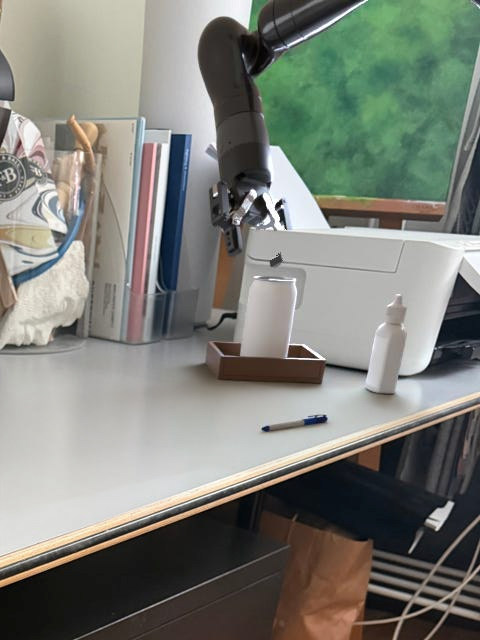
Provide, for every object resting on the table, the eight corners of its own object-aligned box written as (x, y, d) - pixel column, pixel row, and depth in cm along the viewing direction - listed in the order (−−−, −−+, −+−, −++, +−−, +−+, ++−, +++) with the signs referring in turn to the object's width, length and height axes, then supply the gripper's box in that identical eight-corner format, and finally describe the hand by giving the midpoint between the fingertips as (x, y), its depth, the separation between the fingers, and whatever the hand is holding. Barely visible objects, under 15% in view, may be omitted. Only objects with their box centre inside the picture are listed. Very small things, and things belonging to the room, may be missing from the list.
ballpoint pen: (322, 420, 109) (323, 412, 108) (328, 422, 108) (329, 414, 108) (259, 431, 103) (261, 422, 103) (266, 433, 103) (267, 424, 102)
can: (288, 366, 135) (302, 277, 129) (280, 374, 129) (295, 282, 124) (243, 361, 137) (255, 274, 131) (234, 369, 132) (246, 278, 126)
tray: (301, 366, 138) (304, 344, 137) (322, 383, 128) (326, 360, 126) (205, 362, 139) (207, 341, 137) (217, 379, 128) (220, 356, 127)
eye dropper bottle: (357, 391, 124) (376, 295, 118) (367, 384, 128) (386, 291, 122) (391, 395, 122) (412, 298, 116) (401, 388, 126) (421, 294, 120)
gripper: (226, 128, 131) (240, 238, 130) (296, 152, 138) (310, 256, 137) (190, 159, 138) (203, 264, 136) (259, 179, 145) (272, 279, 143)
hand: (257, 260), depth 137 cm, fingers open, 8 cm apart
